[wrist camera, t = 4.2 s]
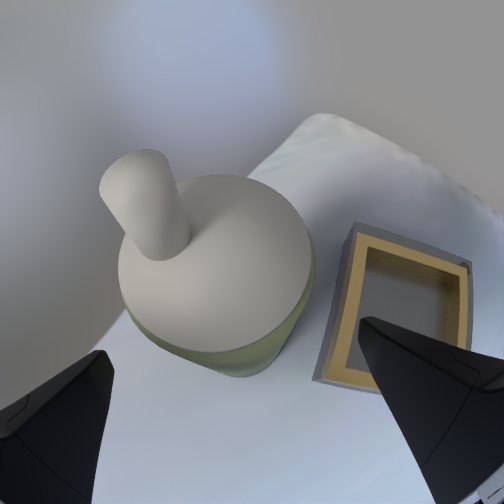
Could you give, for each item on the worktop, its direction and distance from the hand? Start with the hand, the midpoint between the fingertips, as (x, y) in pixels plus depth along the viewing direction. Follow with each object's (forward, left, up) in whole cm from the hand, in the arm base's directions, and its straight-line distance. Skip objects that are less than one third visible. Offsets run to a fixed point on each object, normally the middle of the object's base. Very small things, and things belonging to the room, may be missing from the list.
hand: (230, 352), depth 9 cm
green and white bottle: (+1, -2, -10) cm, 10 cm away
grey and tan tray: (-10, -6, -10) cm, 15 cm away
